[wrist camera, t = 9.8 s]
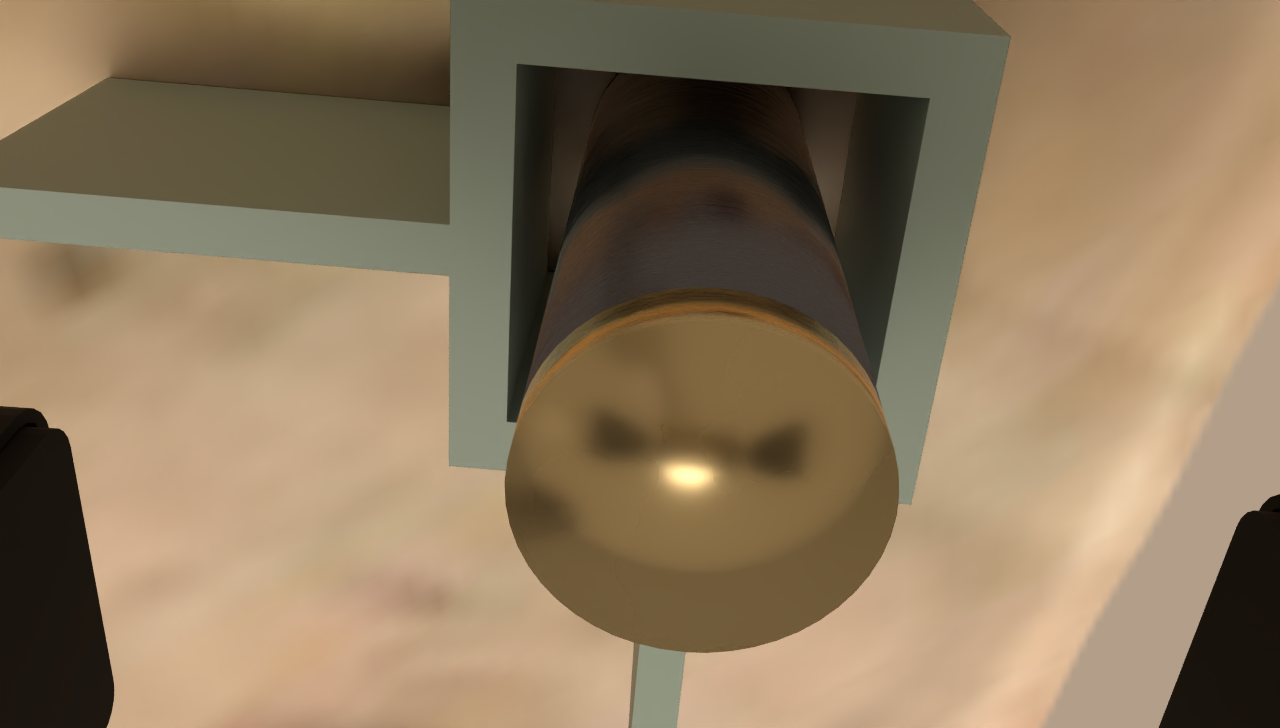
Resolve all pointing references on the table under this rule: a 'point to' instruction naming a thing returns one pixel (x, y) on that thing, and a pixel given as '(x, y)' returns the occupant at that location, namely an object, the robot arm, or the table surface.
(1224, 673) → the robot arm
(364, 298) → the table surface
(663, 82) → the cylindrical canister
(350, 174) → the grey-green frame piece
